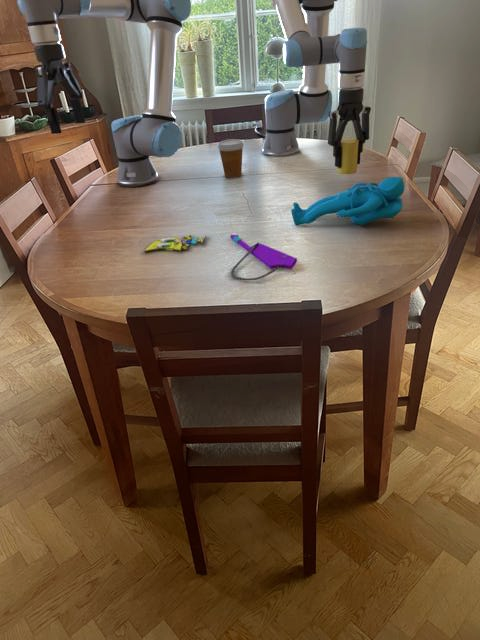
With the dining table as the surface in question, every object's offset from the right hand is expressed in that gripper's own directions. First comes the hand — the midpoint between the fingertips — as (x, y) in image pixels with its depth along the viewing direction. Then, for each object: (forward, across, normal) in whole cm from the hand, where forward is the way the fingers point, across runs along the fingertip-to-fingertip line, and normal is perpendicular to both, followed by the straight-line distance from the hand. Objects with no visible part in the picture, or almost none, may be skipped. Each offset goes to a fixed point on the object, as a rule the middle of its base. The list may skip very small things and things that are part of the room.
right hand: (347, 164), depth 158 cm
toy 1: (+6, -64, -19) cm, 67 cm away
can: (+2, 0, 0) cm, 2 cm away
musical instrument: (+6, -49, -38) cm, 63 cm away
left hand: (-21, -83, +17) cm, 87 cm away
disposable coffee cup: (+7, -29, +33) cm, 45 cm away
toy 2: (+6, -17, -29) cm, 34 cm away
